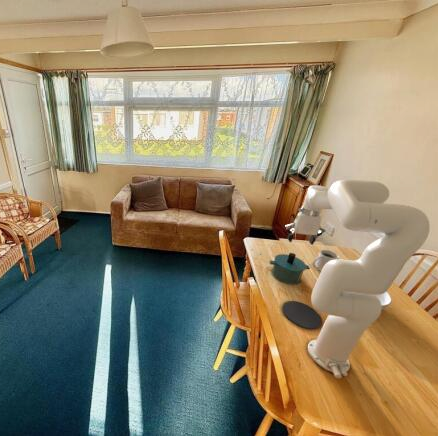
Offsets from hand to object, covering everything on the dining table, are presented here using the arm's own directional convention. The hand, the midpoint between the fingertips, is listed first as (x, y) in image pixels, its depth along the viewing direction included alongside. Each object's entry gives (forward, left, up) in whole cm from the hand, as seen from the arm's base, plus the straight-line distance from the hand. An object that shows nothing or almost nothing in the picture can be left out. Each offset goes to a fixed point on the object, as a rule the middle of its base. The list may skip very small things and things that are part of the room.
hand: (300, 242), depth 116 cm
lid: (+1, +1, -14) cm, 14 cm away
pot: (+1, +1, -23) cm, 23 cm away
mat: (-27, +2, -23) cm, 35 cm away
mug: (+13, -21, -23) cm, 33 cm away
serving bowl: (-10, -27, -23) cm, 37 cm away
